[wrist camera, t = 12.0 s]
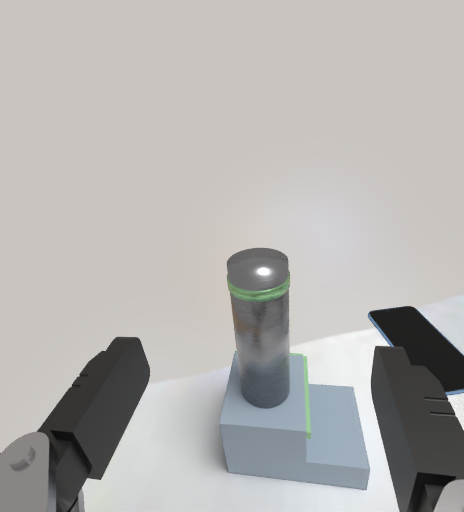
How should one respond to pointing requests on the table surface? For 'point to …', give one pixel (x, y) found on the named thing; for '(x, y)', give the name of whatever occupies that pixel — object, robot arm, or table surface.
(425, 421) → the robot arm
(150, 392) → the table surface
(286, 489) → the table surface
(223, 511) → the table surface
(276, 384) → the steel thermos flask
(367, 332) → the table surface
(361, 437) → the blue-grey stepped block
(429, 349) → the smartphone
